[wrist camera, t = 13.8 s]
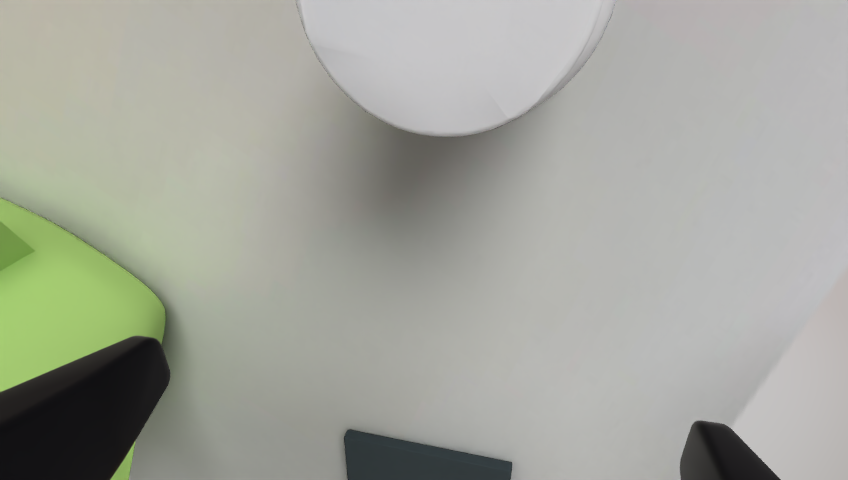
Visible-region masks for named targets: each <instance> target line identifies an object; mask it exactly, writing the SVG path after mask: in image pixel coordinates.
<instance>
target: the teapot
mask: <svg viewBox="0 0 848 480" xmlns="http://www.w3.org/2000/svg"><path fill="white" fill-rule="evenodd" d="M165 320H166V317H165V309H164V307H163V305H162V303H161V301H160V300H159V299H158V297H157V296H156V295H155V294H154V293H153V292H152V291H151V290H150V289H149V288H148V287H147V286H146V285H144V284H143V283H142V282H141V281H139V280H138V279H137V278H135V277H134V276H133V275H132V274H130V273H129V272H128V271H126V270H125V269H123V268H122V267H120V266H119V265H118V264H116V263H115V262H113V261H112V260H110V259H109V258H108V257H106V256H105V255H103V254H102V253H100V252H99V251H97V250H96V249H94V248H93V247H91V246H90V245H88V244H87V243H85V242H84V241H82V240H81V239H79V238H78V237H76V236H74V235H73V234H71V233H69V232H68V231H66V230H64V229H63V228H61V227H59V226H57V225H56V224H54V223H52V222H50V221H48V220H46V219H44V218H42V217H40V216H38V215H36V214H34V213H32V212H30V211H28V210H26V209H24V208H22V207H19V206H17V205H15V204H13V203H10V202H8V201H6V200H4V199H1V198H0V392H2V391H4V390H6V389H9V388H11V387H13V386H16V385H18V384H21V383H23V382H25V381H28V380H30V379H32V378H35V377H37V376H39V375H42V374H44V373H47V372H49V371H51V370H54V369H56V368H58V367H61V366H63V365H65V364H68V363H70V362H72V361H75V360H77V359H80V358H82V357H84V356H87V355H89V354H91V353H94V352H96V351H98V350H101V349H103V348H106V347H108V346H110V345H113V344H115V343H117V342H120V341H122V340H124V339H127V338H129V337H132V336H145V337H152V338H155V339H157V340H158V341H159V342H160V343H161V344H162V340H163V335H164V328H165ZM135 441H136V440H135ZM134 446H135V442H134V444H133V446H132V447H131V449H130V451H129V452H128V454H127V455H126V457H125V459H124V460H123V462H122V463H121V465H120V466H119V468H118V469H117V471H116V472H115V474H114V475H113V477H112V478H111V479H110V480H128V479H129V474H130V468H131V463H132V457H133V452H134Z"/></svg>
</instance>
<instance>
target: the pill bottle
mask: <svg viewBox="0 0 848 480" xmlns="http://www.w3.org/2000/svg"><path fill="white" fill-rule="evenodd" d="M615 3H616V0H296V5H297V8H298V12H299V15H300V18H301V22H302V25H303V28H304V31H305V33H306V36H307V38H308V40H309V43H310V45H311V47H312V49H313V51H314V53H315V54H316V56H317V58H318V60H319V62H320V63H321V64H322V66H323V67H324V69H325V70H326V72H327V73H328V75H329V76H330V77H331V79H332V80H333V81H334V82H335V83H336V85H337V86H338V87H339V88H340V89H341V90H342V91H343V92H344V93H345V94H346V95H347V96H348V97H349V98H350V99H351V100H352V101H353V102H355V103H356V104H357V105H358V106H360V107H361V108H362V109H363V110H364V111H366V112H367V113H369V114H371V115H372V116H374V117H376V118H378V119H379V120H381V121H383V122H385V123H386V124H389V125H391V126H394V127H396V128H399V129H401V130H405V131H408V132H411V133H414V134H420V135H426V136H436V137H459V136H467V135H473V134H478V133H482V132H485V131H489V130H492V129H495V128H498V127H500V126H502V125H504V124H507V123H509V122H511V121H513V120H515V119H517V118H518V117H520V116H522V115H523V114H525V113H526V112H528V111H529V110H531V109H533V108H534V107H536V106H538V105H539V104H541V103H543V102H544V101H546V100H547V99H549V98H550V97H552V96H553V95H554V94H556V93H557V92H558V91H559V90H561V89H562V88H563V87H564V86H565V85H566V84H567V83H568V82H569V81H570V80H571V79H572V78H573V77H574V76H575V75H576V74H577V73H578V72H579V70H580V69H581V68H582V67H583V66H584V64H585V63H586V62H587V60H588V59H589V57H590V56H591V55H592V53H593V52H594V50H595V48H596V46H597V45H598V43H599V41H600V40H601V38H602V36H603V34H604V31H605V29H606V27H607V24H608V22H609V20H610V18H611V15H612V12H613V9H614V6H615Z"/></svg>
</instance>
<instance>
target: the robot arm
mask: <svg viewBox="0 0 848 480" xmlns="http://www.w3.org/2000/svg"><path fill="white" fill-rule="evenodd" d="M169 380H170V370H169V367H168V364H167V361H166V358H165V355H164V352H163V349H162V346H161V343H160V342H159V341H158V340H157V339H155V338H152V337H145V336H132V337H129V338H127V339H124V340H122V341H120V342H117V343H115V344H113V345H110V346H108V347H106V348H103V349H101V350H98V351H96V352H94V353H91V354H89V355H87V356H84V357H82V358H80V359H77V360H75V361H72V362H70V363H68V364H65V365H63V366H61V367H58V368H56V369H54V370H51V371H49V372H47V373H44V374H42V375H39V376H37V377H35V378H32V379H30V380H28V381H25V382H23V383H21V384H18V385H16V386H13V387H11V388H9V389H6V390H4V391H2V392H0V480H110V479H111V478H112V477H113V475H114V474H115V472H116V471H117V469H118V468H119V466H120V465H121V463H122V462H123V460H124V459H125V457H126V455H127V454H128V452H129V451H130V449H131V447H132V446H133V444H134V442H135V440H136V439H137V437H138V435H139V434H140V432H141V430H142V428H143V427H144V425H145V423H146V422H147V420H148V418H149V417H150V415H151V413H152V411H153V410H154V408H155V406H156V405H157V403H158V401H159V399H160V398H161V396H162V394H163V393H164V391H165V389H166V388H167V386H168V383H169ZM680 475H681V480H780V479H779V478H778V477H777V476H776V475H775V473H774V472H773V471H771V469H770V468H769V467H768V466H767V465H766V464H765V463H764V462H763V461H762V460H761V459H760V458H759V457H758V456H757V455H756V454H755V453H754V452H753V451H752V450H751V449H750V448H749V447H748V446H747V445H746V444H745V443H744V442H743V441H742V439H740V437H739V436H738V435H737V434H736V433H735V432H734V431H733V430H732V429H731V428H729V427H728V426H726V425H724V424H720V423H714V422H707V421H696V422H694V423H693V425H692V427H691V429H690V432H689V435H688V438H687V442H686V445H685V448H684V451H683V454H682V457H681V462H680Z"/></svg>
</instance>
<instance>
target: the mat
mask: <svg viewBox="0 0 848 480" xmlns="http://www.w3.org/2000/svg"><path fill="white" fill-rule="evenodd" d="M344 443H345V454H346V465H347V476H348V480H510V479H511V472H512V462H507V461H502V460H497V459H493V458H488V457H483V456H478V455H473V454H468V453H463V452H458V451H453V450H448V449H443V448H438V447H433V446H428V445H423V444H418V443H413V442H408V441H403V440H398V439H393V438H388V437H383V436H378V435H373V434H368V433H363V432H358V431H353V430H347V432H346V434H345V436H344Z"/></svg>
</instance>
